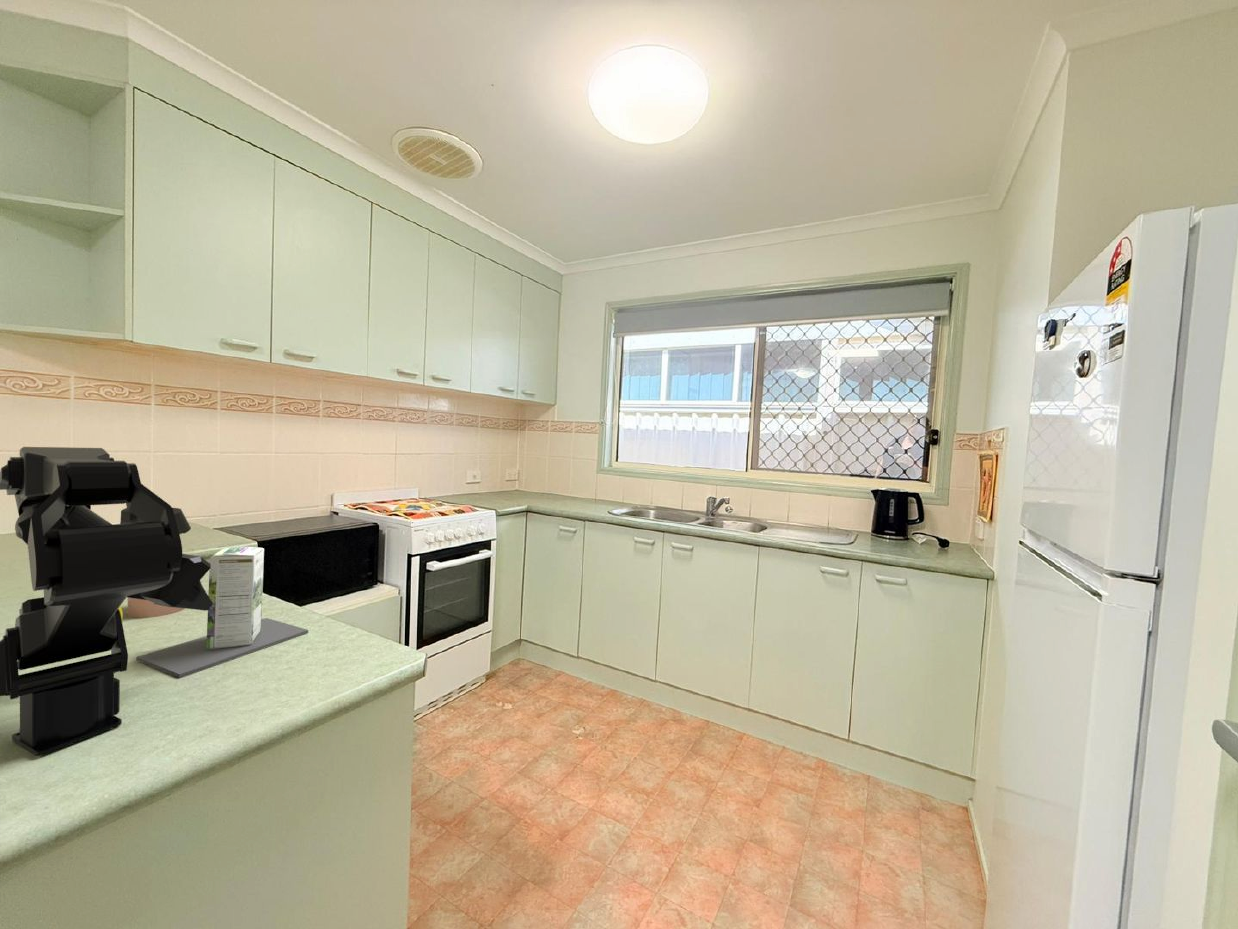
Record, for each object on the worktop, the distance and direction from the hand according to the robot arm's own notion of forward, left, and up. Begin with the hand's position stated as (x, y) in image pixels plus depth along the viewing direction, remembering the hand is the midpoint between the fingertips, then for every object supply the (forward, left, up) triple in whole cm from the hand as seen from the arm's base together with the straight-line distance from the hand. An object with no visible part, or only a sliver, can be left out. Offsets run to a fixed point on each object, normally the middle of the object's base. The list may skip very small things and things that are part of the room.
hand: (184, 602), depth 69 cm
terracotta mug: (+10, +28, -9) cm, 31 cm away
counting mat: (+7, +2, -9) cm, 11 cm away
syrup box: (+8, +2, -9) cm, 12 cm away
